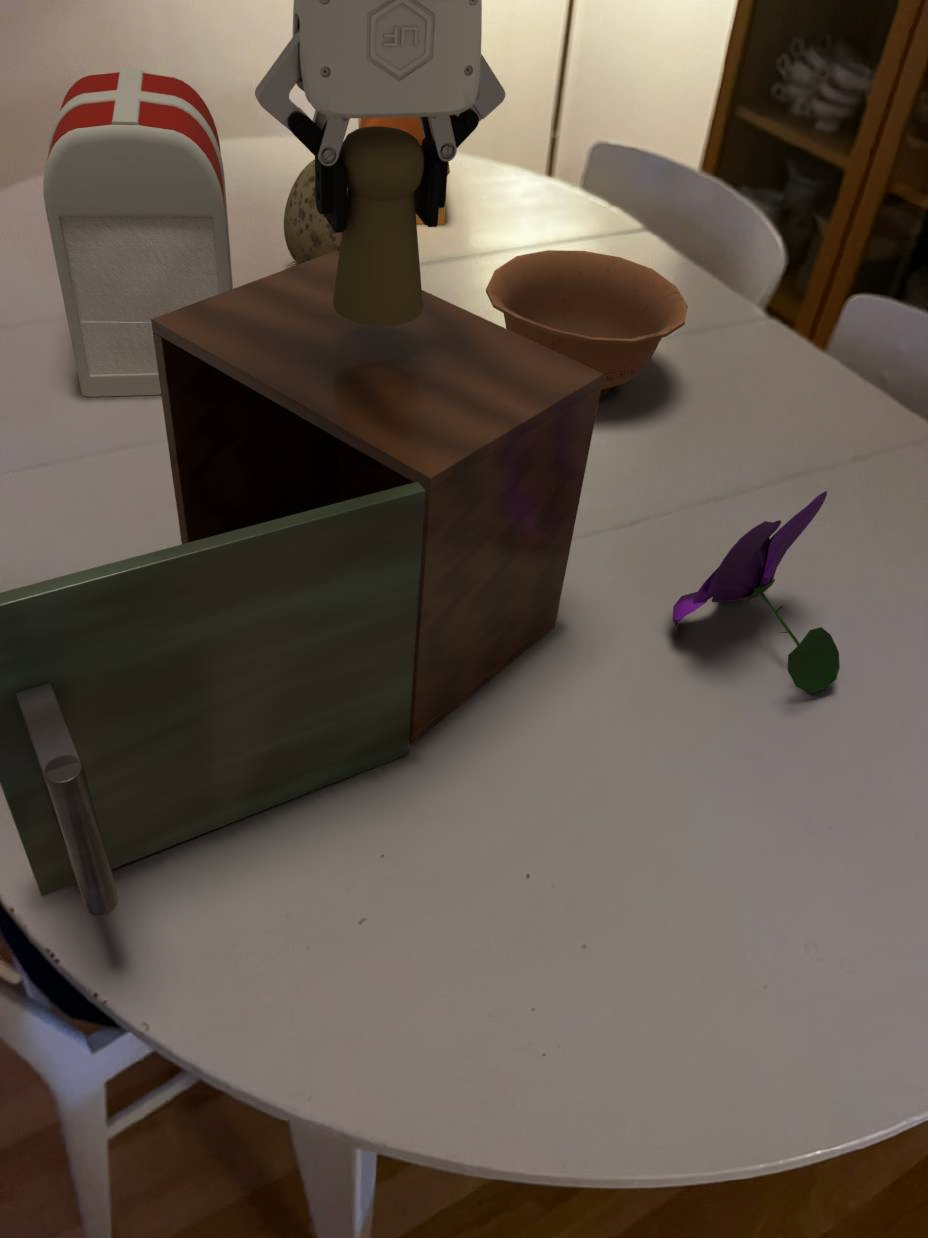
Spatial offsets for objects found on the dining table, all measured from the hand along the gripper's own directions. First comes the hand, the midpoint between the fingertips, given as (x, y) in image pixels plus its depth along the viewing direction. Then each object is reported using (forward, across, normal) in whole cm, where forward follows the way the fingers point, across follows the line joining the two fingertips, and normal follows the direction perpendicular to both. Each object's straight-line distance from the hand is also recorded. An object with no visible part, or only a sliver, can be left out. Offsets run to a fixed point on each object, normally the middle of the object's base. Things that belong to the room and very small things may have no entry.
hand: (380, 218), depth 64 cm
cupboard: (+33, 0, 0) cm, 33 cm away
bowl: (+33, +33, +31) cm, 56 cm away
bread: (+33, +30, +89) cm, 99 cm away
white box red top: (+33, -11, +46) cm, 58 cm away
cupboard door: (+33, -14, -22) cm, 42 cm away
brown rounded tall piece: (+6, 0, 0) cm, 6 cm away
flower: (+33, +30, -14) cm, 47 cm away
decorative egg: (+33, +12, +62) cm, 71 cm away
